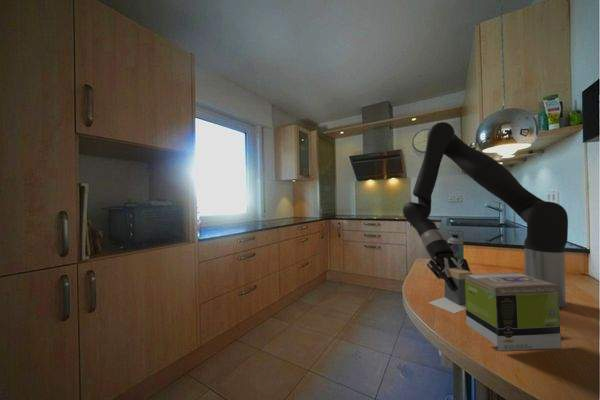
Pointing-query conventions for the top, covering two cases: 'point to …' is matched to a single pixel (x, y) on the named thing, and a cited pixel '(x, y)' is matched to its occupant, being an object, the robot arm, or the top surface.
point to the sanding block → (459, 280)
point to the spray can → (456, 246)
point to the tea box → (513, 310)
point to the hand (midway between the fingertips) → (462, 289)
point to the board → (448, 305)
